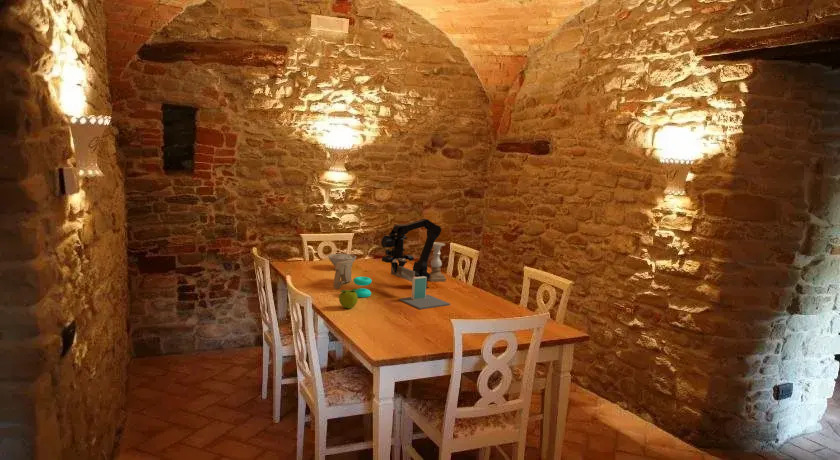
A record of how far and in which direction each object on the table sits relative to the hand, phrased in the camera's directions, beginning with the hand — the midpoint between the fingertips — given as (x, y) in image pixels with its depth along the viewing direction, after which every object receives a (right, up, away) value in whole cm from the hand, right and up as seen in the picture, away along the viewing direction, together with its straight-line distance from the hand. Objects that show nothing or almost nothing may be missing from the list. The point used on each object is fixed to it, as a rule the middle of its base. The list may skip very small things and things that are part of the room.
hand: (397, 273), depth 308 cm
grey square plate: (+16, -14, -21) cm, 30 cm away
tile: (+12, -13, -17) cm, 25 cm away
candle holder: (+23, -7, +35) cm, 43 cm away
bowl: (-40, -2, +51) cm, 65 cm away
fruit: (-23, -15, -39) cm, 48 cm away
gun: (-33, -8, +9) cm, 35 cm away
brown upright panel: (+3, -2, -5) cm, 6 cm away
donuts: (-19, -12, -14) cm, 26 cm away
